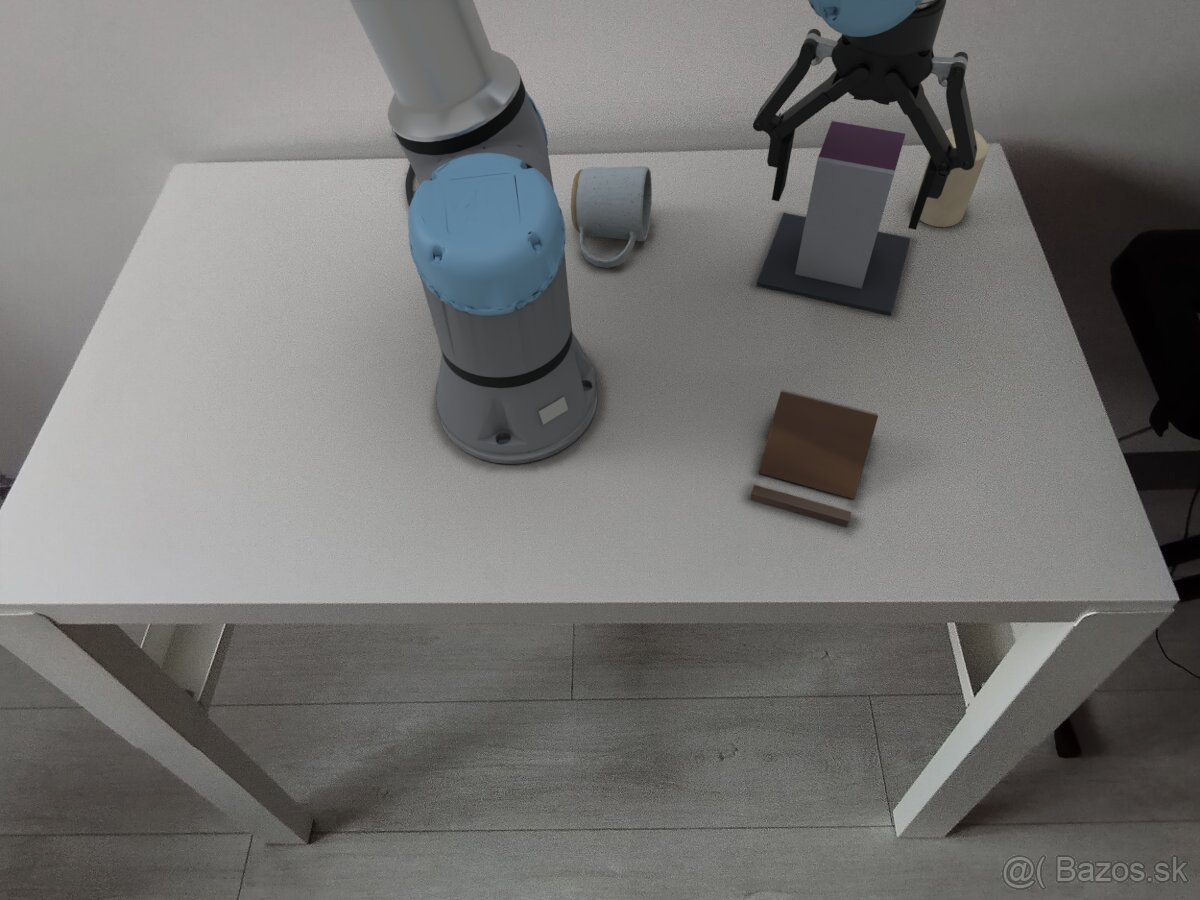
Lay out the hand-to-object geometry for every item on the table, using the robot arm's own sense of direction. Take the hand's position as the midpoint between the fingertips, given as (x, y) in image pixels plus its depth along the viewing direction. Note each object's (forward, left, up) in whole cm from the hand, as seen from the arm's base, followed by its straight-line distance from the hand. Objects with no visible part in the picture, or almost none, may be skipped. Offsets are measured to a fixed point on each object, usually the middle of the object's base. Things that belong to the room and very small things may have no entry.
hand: (844, 206), depth 85 cm
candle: (+2, +15, -8) cm, 17 cm away
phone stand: (+17, -22, -8) cm, 29 cm away
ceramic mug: (-19, -15, -8) cm, 25 cm away
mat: (0, 0, -7) cm, 7 cm away
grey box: (-2, +4, -5) cm, 7 cm away
